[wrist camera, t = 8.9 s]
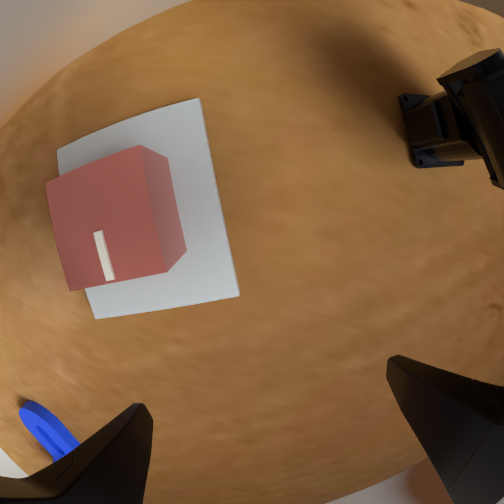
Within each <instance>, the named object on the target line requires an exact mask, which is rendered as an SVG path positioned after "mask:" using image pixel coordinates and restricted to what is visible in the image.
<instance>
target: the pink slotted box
mask: <svg viewBox="0 0 504 504" xmlns="http://www.w3.org/2000/svg"><path fill="white" fill-rule="evenodd" d="M45 184H46V192H47V199H48V205H49V211H50V216H51V221H52V226H53V231H54V236H55V240H56V244H57V248H58V252H59V256H60V260H61V263H62V267H63V270H64V274H65V277H66V280H67V284H68V287H69V290H70V291H74V290H79V289H85V288H90V287H95V286H100V285H105V284H110V283H116V282H121V281H126V280H131V279H136V278H141V277H146V276H151V275H156V274H161V273H167V272H168V271H169V270H170V269H171V268H172V267H173V265H174V264H175V263H176V262H177V261H178V260H179V259H180V258H181V257H182V256H183V255H184V254H185V253H186V252H187V248H186V244H185V239H184V235H183V231H182V226H181V222H180V217H179V212H178V208H177V203H176V198H175V193H174V188H173V183H172V178H171V173H170V167H169V162H168V158H167V157H165V156H163V155H161V154H159V153H156V152H154V151H152V150H150V149H148V148H146V147H144V146H142V145H137V146H134V147H131V148H128V149H125V150H122V151H120V152H117V153H114V154H111V155H109V156H106V157H103V158H101V159H98V160H96V161H93V162H91V163H88V164H86V165H83V166H81V167H79V168H76V169H74V170H72V171H69V172H67V173H65V174H63V175H61V176H59V177H56V178H54V179H52V180H50V181H48V182H46V183H45Z"/></svg>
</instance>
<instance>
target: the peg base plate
mask: <svg viewBox="0 0 504 504" xmlns="http://www.w3.org/2000/svg"><path fill="white" fill-rule="evenodd" d="M137 145H142V146H144V147H146V148H148V149H150V150H152V151H154V152H156V153H159V154H161V155H163V156H165V157H167V158H168V162H169V167H170V173H171V178H172V183H173V188H174V193H175V198H176V203H177V208H178V212H179V217H180V222H181V226H182V231H183V235H184V239H185V244H186V248H187V252H186V253H185V254H184V255H183V256H182V257H181V258H180V259H179V260H178V261H177V262H176V263H175V264H174V265H173V267H172V268H171V269H170V270H169V271H168V272H167V273H161V274H156V275H151V276H146V277H141V278H136V279H131V280H126V281H121V282H116V283H110V284H105V285H100V286H95V287H90V288H85V291H86V294H87V297H88V300H89V303H90V305H91V308H92V311H93V313H94V316H95V319H100V318H108V317H115V316H123V315H130V314H136V313H143V312H150V311H156V310H162V309H169V308H175V307H181V306H187V305H193V304H198V303H204V302H209V301H215V300H220V299H226V298H231V297H236V296H240V290H239V285H238V281H237V277H236V272H235V268H234V263H233V258H232V254H231V249H230V245H229V240H228V235H227V231H226V226H225V221H224V216H223V212H222V207H221V202H220V197H219V192H218V187H217V183H216V178H215V173H214V168H213V163H212V157H211V152H210V147H209V142H208V137H207V132H206V126H205V121H204V116H203V110H202V105H201V102H200V99H199V98H196V99H192V100H188V101H184V102H180V103H176V104H173V105H169V106H166V107H162V108H159V109H156V110H153V111H150V112H147V113H143V114H140V115H138V116H135V117H132V118H129V119H126V120H124V121H121V122H118V123H116V124H113V125H111V126H108V127H106V128H103V129H101V130H98V131H96V132H94V133H91V134H89V135H87V136H85V137H82V138H80V139H78V140H76V141H74V142H72V143H70V144H68V145H66V146H64V147H62V148H60V149H58V150H57V160H58V169H59V176H61V175H63V174H65V173H67V172H69V171H72V170H74V169H76V168H79V167H81V166H83V165H86V164H88V163H91V162H93V161H96V160H98V159H101V158H103V157H106V156H109V155H111V154H114V153H117V152H120V151H122V150H125V149H128V148H131V147H134V146H137Z"/></svg>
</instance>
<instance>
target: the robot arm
mask: <svg viewBox="0 0 504 504" xmlns="http://www.w3.org/2000/svg"><path fill="white" fill-rule="evenodd" d="M436 80H437V81H438V82H439V84H440V85H442V86H443V88H444V89H445V91H442V92H440V93H438V94H435V95H433V96H426V95H417V94H406V93H403V94H401V95H400V96H399V102H400V106H401V109H402V113H403V117H404V121H405V125H406V129H407V134H408V138H409V143H410V147H411V152H412V157H413V162H414V165H415V167H416V168H432V167H446V166H462V165H464V160H473V159H483V160H484V162H485V165H486V167H487V169H488V172H489V174H490V180H491V182H492V185H494V186H496V187H499V188H501V189H503V190H504V54H503V52H502V51H501V49H500V48H497V49H491V50H485V51H480V52H477V53H475V54H473V55H471V56H469V57H467V58H466V59H464V60H462V61H460V62H459V63H457V64H456V65H455V66H453V67H452V68H450V69H449V70H448V71H446V72H445V73H444V74H442V75H441V76H440V77H438V78H437V79H436ZM403 98H405V100H406V101H405V100H404V99H403ZM418 161H420V164H419V163H418ZM386 377H387V381H388V383H389V385H390V387H391V390H392V392H393V394H394V396H395V398H396V401H397V403H398V405H399V407H400V409H401V411H402V413H403V415H404V416H405V418H406V420H407V421H408V423H409V425H410V426H411V428H412V430H413V431H414V433H415V435H416V436H417V438H418V440H419V441H420V443H421V445H422V447H423V448H424V450H425V452H426V453H427V455H428V457H429V459H430V460H431V462H432V464H433V466H434V468H435V469H436V471H437V473H438V475H439V476H440V478H441V480H442V482H443V484H444V486H445V488H446V489H447V491H448V493H449V495H450V497H451V499H452V501H453V503H454V504H504V387H503V386H498V385H493V384H489V383H485V382H481V381H478V380H475V379H473V380H472V379H471V378H468V377H465V376H461V375H458V374H455V373H452V372H449V371H446V370H443V369H440V368H436V367H433V366H430V365H427V364H425V363H422V362H419V361H416V360H413V359H410V358H407V357H404V356H401V355H395V356H392V357H390V358H389V359H388V361H387V372H386ZM152 434H153V419H152V416H151V415H150V413H149V411H148V410H147V408H146V406H145V405H144V404H143V403H133V404H132V405H131V406H129V407H128V408H127V409H126V410H124V411H123V412H122V413H120V414H119V415H118V416H117V417H115V418H114V419H113V420H112V421H110V422H109V423H108V424H106V425H105V426H104V427H103V428H101V429H100V430H99V431H97V432H96V433H95V434H93V435H92V436H91V437H89V438H88V439H87V440H85V441H84V442H83V443H81V444H80V445H79V446H77V447H76V448H75V449H74V450H72V451H70V452H69V453H68V454H66V455H65V456H63V457H62V458H60V459H59V460H57V461H56V462H54V463H52V464H51V465H49V466H47V467H45V468H44V469H42V470H40V471H38V472H36V473H35V474H33V475H31V476H29V477H26V478H20V479H16V478H8V477H2V476H0V504H143V498H144V491H145V485H146V480H147V474H148V468H149V463H150V457H151V448H152Z"/></svg>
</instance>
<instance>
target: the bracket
mask: <svg viewBox="0 0 504 504" xmlns="http://www.w3.org/2000/svg"><path fill="white" fill-rule="evenodd" d="M19 415H20V417H21V420H22V421H23V423H24V424H25V426H26V427H27V428H28V430H29V431H30V432H31V433H32V434H33V435H34V437H35V438H36V439H37V440H38V441H39V442H40V443H41V444H42V445H43V447H44V448H45V449H46V450H47V451H48V452H49V453H50V454H51V455H52V457H53V463H54V462H56V461H57V460H59V459H60V458H62V457H63V456H65V455H66V454H68V453H69V452H70V451H72V450H74V449H75V448H76V447H77V446H79V445H80V443H79V442H78V441H77V440H76V439H75V438H74V437H73V435H72V434H71V433H70V432H69V431H68V430H67V429H66V427H65V426H64V425H63V424H62V423H61V422H60V421H59V419H58V418H57V417H55V416H54V415H53V414H52V413H51V412H50V411H49V410H47V409H46V408H44V407H43V406H41V405H40V404H38V403H36V402H33V401H27V402H26V403H25V404H24V405H23V406H22V408H21V409H20V410H19Z"/></svg>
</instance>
